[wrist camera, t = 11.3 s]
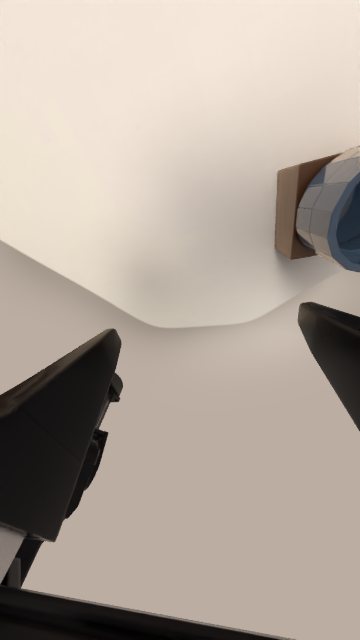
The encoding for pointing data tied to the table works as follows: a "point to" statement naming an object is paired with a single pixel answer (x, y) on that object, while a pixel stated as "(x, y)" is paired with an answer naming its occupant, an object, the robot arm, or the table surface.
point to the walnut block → (294, 205)
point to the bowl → (333, 212)
